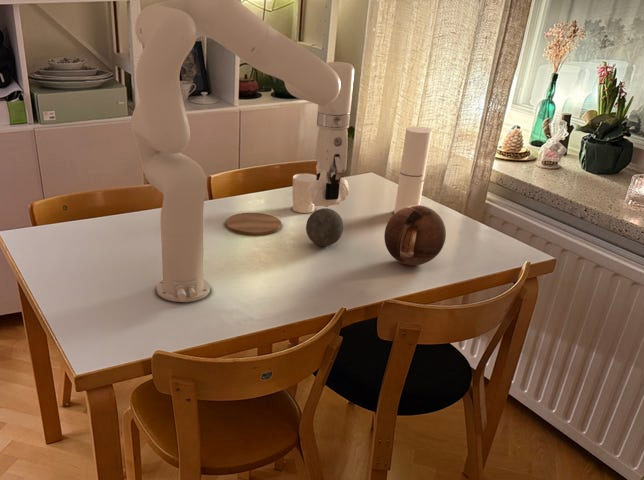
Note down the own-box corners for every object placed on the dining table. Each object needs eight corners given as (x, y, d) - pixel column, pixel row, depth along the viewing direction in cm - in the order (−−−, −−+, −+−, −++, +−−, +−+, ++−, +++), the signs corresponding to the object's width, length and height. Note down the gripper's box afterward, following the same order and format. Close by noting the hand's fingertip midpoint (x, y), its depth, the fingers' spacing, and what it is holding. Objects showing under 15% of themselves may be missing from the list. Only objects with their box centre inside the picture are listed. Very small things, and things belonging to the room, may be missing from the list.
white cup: (286, 206, 216) (288, 174, 211) (310, 204, 218) (312, 172, 213) (296, 215, 210) (298, 182, 204) (320, 212, 212) (323, 180, 206)
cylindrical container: (389, 211, 213) (401, 128, 200) (408, 208, 216) (421, 125, 202) (403, 219, 207) (416, 133, 194) (423, 216, 210) (437, 131, 197)
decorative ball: (348, 248, 188) (352, 212, 183) (317, 254, 184) (321, 218, 179) (327, 235, 196) (331, 201, 191) (297, 241, 192) (300, 206, 187)
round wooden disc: (286, 234, 197) (286, 230, 196) (230, 237, 194) (230, 233, 194) (274, 214, 210) (274, 211, 209) (221, 217, 208) (221, 213, 207)
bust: (343, 206, 177) (329, 165, 177) (360, 195, 170) (346, 152, 170) (305, 215, 172) (291, 171, 172) (321, 204, 165) (306, 159, 165)
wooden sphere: (403, 247, 189) (411, 193, 181) (451, 264, 180) (462, 208, 172) (369, 261, 181) (376, 205, 173) (418, 280, 171) (428, 222, 163)
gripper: (361, 128, 156) (352, 205, 165) (337, 111, 170) (330, 182, 180) (329, 129, 155) (322, 206, 164) (307, 112, 169) (302, 184, 178)
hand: (326, 193), depth 172 cm, fingers closed on bust, 7 cm apart
